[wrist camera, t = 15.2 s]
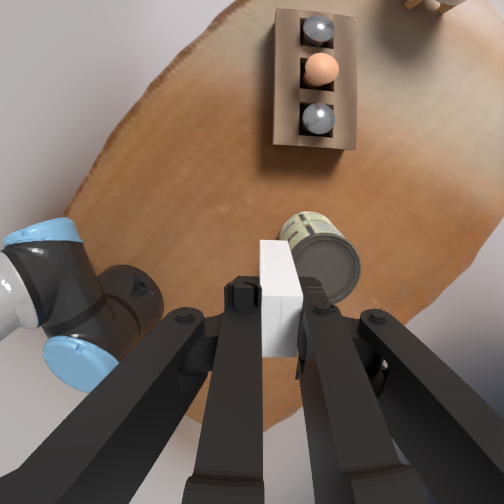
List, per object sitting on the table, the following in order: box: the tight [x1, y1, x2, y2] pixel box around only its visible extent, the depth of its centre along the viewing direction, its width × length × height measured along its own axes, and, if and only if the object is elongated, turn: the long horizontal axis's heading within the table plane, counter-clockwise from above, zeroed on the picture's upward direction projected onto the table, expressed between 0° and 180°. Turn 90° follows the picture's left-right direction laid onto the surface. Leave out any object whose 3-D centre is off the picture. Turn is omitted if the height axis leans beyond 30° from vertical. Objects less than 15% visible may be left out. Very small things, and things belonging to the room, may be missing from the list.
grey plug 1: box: [301, 15, 335, 48], centre depth 37 cm, size 4×4×7 cm
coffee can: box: [278, 212, 361, 304], centre depth 46 cm, size 10×10×14 cm
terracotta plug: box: [303, 53, 339, 89], centre depth 37 cm, size 4×4×7 cm
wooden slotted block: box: [272, 8, 357, 150], centre depth 41 cm, size 12×22×6 cm, turn 179°
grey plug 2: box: [300, 103, 335, 134], centre depth 41 cm, size 4×4×7 cm
